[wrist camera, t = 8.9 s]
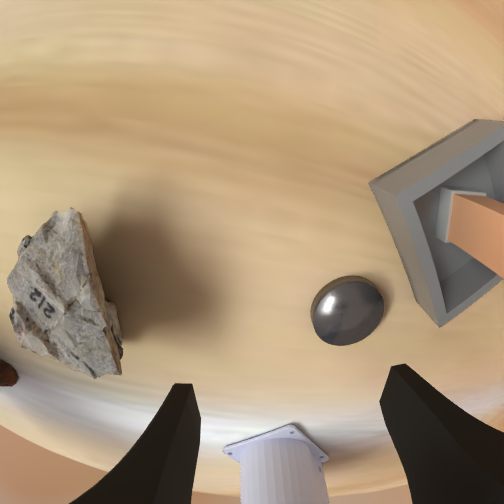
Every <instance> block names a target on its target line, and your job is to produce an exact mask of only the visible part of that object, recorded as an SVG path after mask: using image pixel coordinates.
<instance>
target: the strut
mask: <svg viewBox="0 0 504 504" xmlns="http://www.w3.org/2000/svg"><path fill="white" fill-rule="evenodd" d="M435 237H437V238H438V239H440V240H441V241H443V242H444V243H449V242H452V243H453V244H455V245H456V246H458V247H459V248H461V249H462V250H464V251H465V252H467V253H468V254H470V255H471V256H473V257H474V258H475V259H477V260H478V261H480V262H481V263H483V264H484V265H485V266H487V267H488V268H490V269H491V270H492V271H494V272H495V273H496V274H498V275H499V276H500V277H502V278H503V279H504V204H503V203H501V202H499V201H496V200H494V199H491V198H489V197H486V193H485V192H482V191H480V190H477V189H469V188H457V187H442V186H441V192H440V202H439V211H438V219H437V226H436V233H435Z"/></svg>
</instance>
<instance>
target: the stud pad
mask: <svg viewBox="0 0 504 504" xmlns="http://www.w3.org/2000/svg"><path fill="white" fill-rule="evenodd" d="M383 311H384V303H383V299H382V296H381V295H380V293H379V292H378V290H377V289H376V288H375V287H374V285H373V284H372V283H371V282H370V281H368V280H367V279H365V278H362V277H359V276H345V277H341V278H338V279H335V280H333V281H332V282H330V283H328V284H327V285H326V286H324V287H323V288H322V289H321V290H320V291H319V293H318V294H317V295H316V297H315V298H314V301H313V303H312V306H311V320H312V323H313V326H314V329H315V332H316V333H317V335H318V336H319V338H321V339H322V340H323V341H325V342H326V343H328V344H332V345H337V346H344V345H350V344H354V343H356V342H359V341H361V340H363V339H364V338H366V337H367V336H368V335H370V334H371V333H372V332H373V331H374V330H375V328H376V327H377V326H378V324H379V323H380V321H381V318H382V316H383Z"/></svg>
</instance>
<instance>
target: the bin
mask: <svg viewBox="0 0 504 504" xmlns="http://www.w3.org/2000/svg"><path fill="white" fill-rule="evenodd" d="M369 185H370V187H371V190H372V192H373V194H374V196H375V198H376V200H377V202H378V205H379V207H380V209H381V211H382V214H383V216H384V218H385V220H386V223H387V225H388V227H389V230H390V232H391V235H392V237H393V239H394V242H395V244H396V247H397V249H398V252H399V255H400V257H401V260H402V262H403V265H404V268H405V270H406V273H407V276H408V279H409V281H410V284H411V287H412V290H413V293H414V296H415V299H416V302H417V303H418V304H419V305H420V306H421V307H422V308H423V310H424V311H425V312H426V313H427V314H428V315H429V317H430V318H431V319H432V320H433V321H434V322H435V324H436V325H437V326H438V327H439V328H440V327H442V326H443V325H445V324H446V323H447V322H449V321H450V320H452V319H453V318H454V317H456V316H457V315H458V314H460V313H461V312H462V311H464V310H465V309H466V308H468V307H469V306H470V305H472V304H473V303H474V302H475V301H477V300H478V299H479V298H480V297H482V296H483V295H484V294H485V293H487V292H488V291H489V290H490V289H492V288H493V287H494V286H495V285H496V284H497V283H499V282H500V281H501V280H502V279H503V278H502V277H500V276H499V275H498V274H496V273H495V272H494V271H492V270H491V269H490V268H488V267H487V266H485V265H484V264H483V263H481V262H480V261H478V260H477V259H475V258H474V257H473V256H471V255H470V254H468V253H467V252H465V251H464V250H462V249H461V248H459V247H458V246H456V245H455V244H453V243H452V242H449V243H444V242H443V241H441V240H440V239H438V238H437V237H435V233H436V226H437V219H438V211H439V202H440V192H441V186H442V187H457V188H469V189H477V190H480V191H482V192H485V193H486V197H489V198H491V199H494V200H496V201H499V202H501V203H503V204H504V122H503V121H491V120H478V119H474V120H473V121H471V122H469V123H468V124H466V125H464V126H463V127H461V128H459V129H458V130H456V131H454V132H453V133H451V134H449V135H448V136H446V137H444V138H443V139H441V140H439V141H438V142H436V143H434V144H433V145H431V146H429V147H428V148H426V149H424V150H423V151H421V152H419V153H418V154H416V155H414V156H413V157H411V158H409V159H408V160H406V161H404V162H403V163H401V164H399V165H397V166H396V167H394V168H392V169H391V170H389V171H387V172H386V173H384V174H382V175H381V176H379V177H377V178H376V179H374V180H372V181H371V182H369Z"/></svg>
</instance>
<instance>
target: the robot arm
mask: <svg viewBox="0 0 504 504" xmlns="http://www.w3.org/2000/svg"><path fill="white" fill-rule="evenodd" d="M379 402H380V406H381V410H382V413H383V417H384V420H385V424H386V426H387V429H388V431H389V434H390V436H391V438H392V441H393V443H394V446H395V448H396V450H397V453H398V455H399V458H400V460H401V462H402V465H403V467H404V470H405V473H406V477H407V480H408V485H409V489H410V493H411V498H412V503H413V504H504V432H501V431H499V430H497V429H495V428H493V427H491V426H489V425H487V424H485V423H483V422H482V421H480V420H478V419H476V418H475V417H473V416H471V415H470V414H468V413H467V412H465V411H464V410H463V409H461V408H460V407H458V406H457V405H455V404H454V403H453V402H451V401H450V400H449V399H448V398H446V397H445V396H444V395H442V394H441V393H440V392H439V391H438V390H436V389H435V388H434V387H433V386H432V385H430V384H429V383H428V382H427V381H426V380H424V379H423V378H422V377H421V376H420V375H419V374H417V373H416V372H415V371H414V370H413V369H411V368H410V367H409V366H408V365H406V364H400V365H395V366H391V369H390V372H389V375H388V378H387V381H386V384H385V387H384V390H383V393H382V396H381V399H380V401H379ZM200 429H201V417H200V413H199V409H198V405H197V401H196V397H195V393H194V389H193V385H192V384H180V383H175V384H174V385H173V386H172V388H171V390H170V392H169V393H168V395H167V397H166V399H165V400H164V402H163V404H162V405H161V407H160V409H159V410H158V412H157V413H156V415H155V416H154V418H153V419H152V421H151V422H150V424H149V425H148V427H147V428H146V430H145V431H144V433H143V434H142V435H141V436H140V438H139V439H138V440H137V442H136V443H135V444H134V446H133V447H132V448H131V449H130V450H129V452H128V453H127V454H126V455H125V456H124V457H123V458H122V460H121V461H120V462H119V463H118V464H117V465H116V466H115V467H114V468H113V469H112V470H111V471H110V472H109V473H108V474H107V475H105V476H104V477H103V478H102V479H101V480H100V481H99V482H98V483H97V484H96V485H94V486H93V487H92V488H90V489H89V490H88V491H86V492H85V493H83V494H82V495H81V496H79V497H78V498H77V499H75V500H74V501H72V502H71V503H69V504H191V496H192V488H193V482H194V476H195V470H196V464H197V457H198V451H199V445H200ZM223 452H224V453H225V454H227V455H228V456H230V457H231V458H233V459H234V460H236V461H237V462H239V463H240V489H241V504H330V502H329V497H328V492H327V487H326V482H325V477H324V472H323V467H322V463H324V462H326V461H328V460H329V456H328V455H326V454H325V453H324V452H323V451H322V450H321V449H320V448H318V447H317V446H316V445H315V444H314V443H313V442H312V441H311V440H310V439H308V438H307V437H306V436H305V435H304V434H303V433H302V432H301V431H300V430H299V429H298V428H296V427H295V426H294V425H287V426H284V427H281V428H279V429H276V430H273V431H271V432H268V433H265V434H262V435H260V436H257V437H254V438H251V439H248V440H245V441H242V442H239V443H236V444H232V445H229V446H226V447H223Z"/></svg>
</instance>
